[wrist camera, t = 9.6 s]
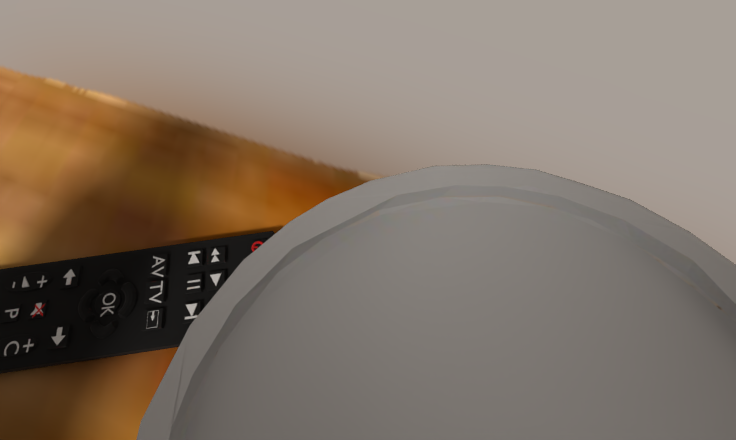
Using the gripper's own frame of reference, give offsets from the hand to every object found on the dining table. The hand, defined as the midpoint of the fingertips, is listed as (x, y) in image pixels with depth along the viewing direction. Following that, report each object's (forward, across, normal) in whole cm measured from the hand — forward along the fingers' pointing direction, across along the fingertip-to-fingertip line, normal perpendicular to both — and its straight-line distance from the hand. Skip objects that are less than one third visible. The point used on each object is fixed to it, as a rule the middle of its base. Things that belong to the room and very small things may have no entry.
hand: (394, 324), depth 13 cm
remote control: (+18, -22, -4) cm, 29 cm away
